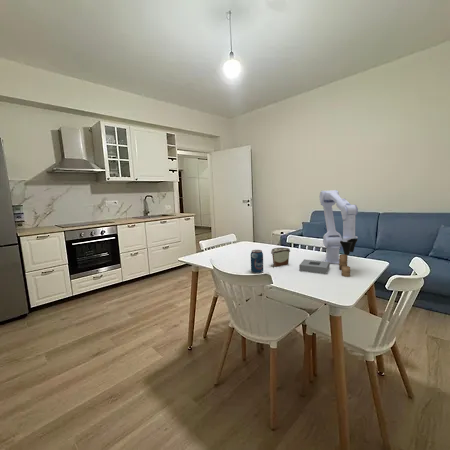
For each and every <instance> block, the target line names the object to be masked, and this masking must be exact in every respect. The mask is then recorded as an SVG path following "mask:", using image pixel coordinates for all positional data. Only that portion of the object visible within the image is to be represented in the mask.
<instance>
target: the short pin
mask: <svg viewBox="0 0 450 450" xmlns="http://www.w3.org/2000/svg"><path fill="white" fill-rule="evenodd" d="M340 272H341V273H340V274H341V276H342V277H345V278H349V277H351V266H349V265H347V266H342V270H340Z"/></svg>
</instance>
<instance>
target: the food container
mask: <svg viewBox="0 0 450 450" xmlns="http://www.w3.org/2000/svg"><path fill="white" fill-rule="evenodd" d="M290 252H291V250H290V248H289V247H274V248H272V249H271V251H270V254H272V255H271V256H272V264H273V267H274V268H279V267H285V266H289V264H290V263H289V260H290Z"/></svg>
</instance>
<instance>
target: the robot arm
mask: <svg viewBox="0 0 450 450" xmlns="http://www.w3.org/2000/svg"><path fill="white" fill-rule="evenodd" d="M319 202H320V205H321V206H322V208H323V212H324V213H323V215H324V220H325V226H326V233H325V234H324V235H323V236H322V238H323V239H322V240H323V241H322V242H323V246H324V247H325V248H326V251H325V252H326V253H325V260H324V261H326V262H330V264H336V265H339V255H340V249H341V247H342V249H343V251H342V252H343V254H345V255H348V256H350V254H351V253H354V251H355V246H356V243H357V242H358V240H359V239H358V236H356V216H357V215H358V213H359V208H358V206H357V204H351V203H350V202H349V201H348V200H347V199H346V198H342V197H341V196H340V191H338V190H337V189H332V190H330V189H329V190H321V191H320V193H319ZM334 205H335V206H336V207H337V208H338V209H339V210H340V214H341V219H342V226H343V227H342V235H341V233H340V232H338V231H337V230H336V224H335V218H334V216H335V215H334V213H333V212H334V211H333V206H334Z"/></svg>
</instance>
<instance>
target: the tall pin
mask: <svg viewBox="0 0 450 450" xmlns="http://www.w3.org/2000/svg"><path fill="white" fill-rule="evenodd" d="M348 256H349V255H345V254H344V253H343V254H342V253H340V254H339V264H338V266H339V267H338V270H340V271H342V266H348Z"/></svg>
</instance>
